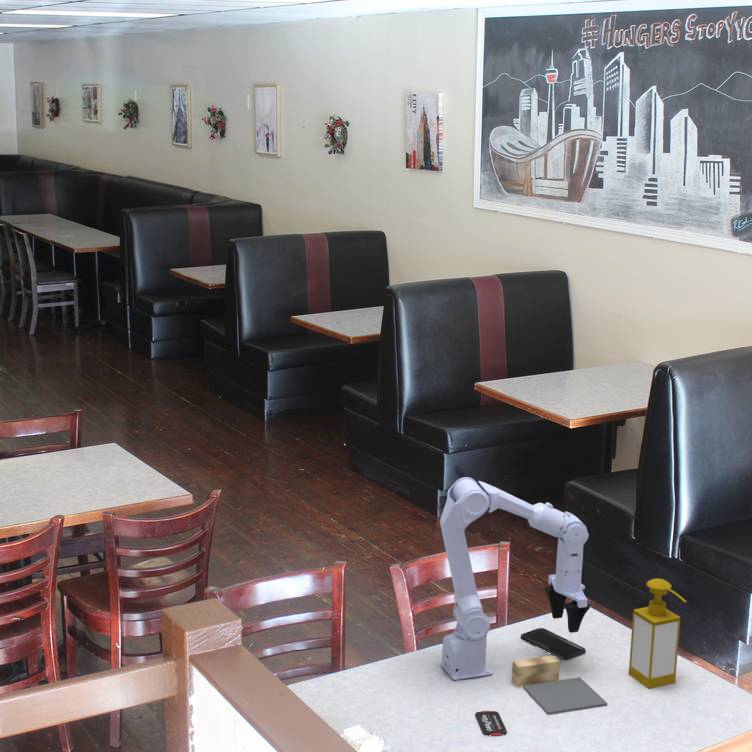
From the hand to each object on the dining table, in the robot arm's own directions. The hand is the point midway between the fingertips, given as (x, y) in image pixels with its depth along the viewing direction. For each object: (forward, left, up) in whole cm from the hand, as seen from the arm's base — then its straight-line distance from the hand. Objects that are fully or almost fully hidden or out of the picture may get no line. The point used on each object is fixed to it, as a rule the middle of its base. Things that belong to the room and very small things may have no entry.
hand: (565, 624), depth 249 cm
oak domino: (-10, -6, -10) cm, 15 cm away
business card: (-27, -20, -10) cm, 35 cm away
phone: (+2, +9, -10) cm, 14 cm away
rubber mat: (-7, -14, -10) cm, 18 cm away
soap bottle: (+16, -15, -10) cm, 24 cm away
